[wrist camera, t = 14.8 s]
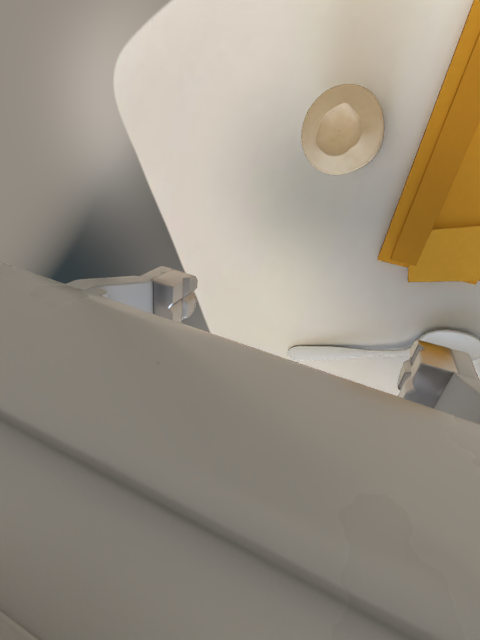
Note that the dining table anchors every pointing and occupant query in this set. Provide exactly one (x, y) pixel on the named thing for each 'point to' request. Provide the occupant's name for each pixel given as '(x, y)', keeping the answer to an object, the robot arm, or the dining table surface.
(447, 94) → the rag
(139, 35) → the dining table surface
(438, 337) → the spoon
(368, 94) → the candle
